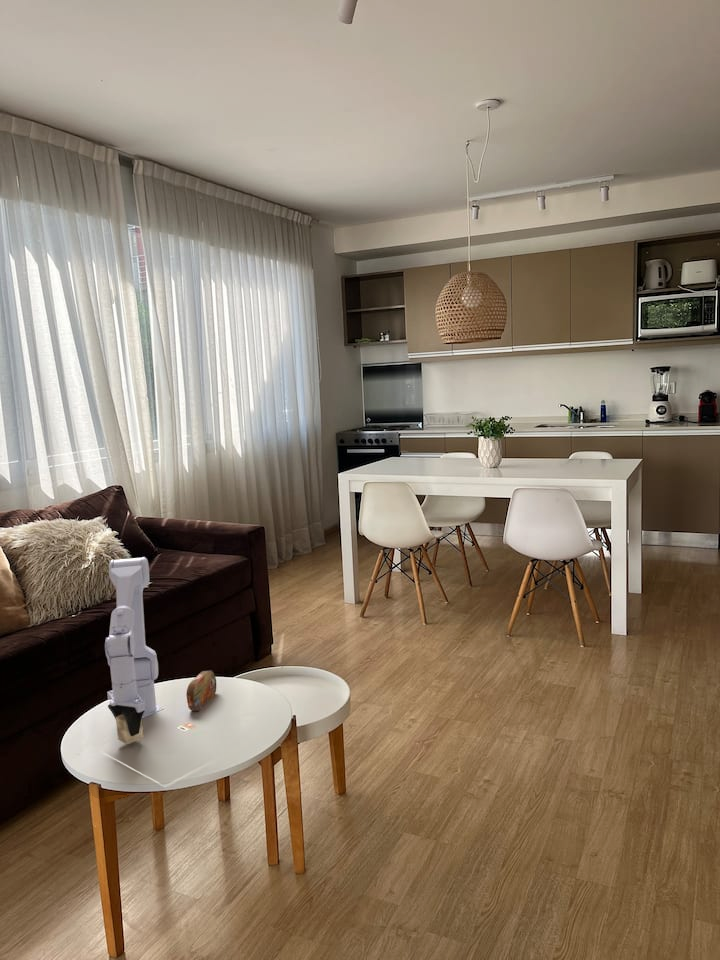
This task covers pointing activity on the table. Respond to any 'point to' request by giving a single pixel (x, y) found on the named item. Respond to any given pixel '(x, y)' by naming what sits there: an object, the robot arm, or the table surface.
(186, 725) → the mat
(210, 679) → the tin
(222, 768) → the table surface
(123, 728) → the birch block
